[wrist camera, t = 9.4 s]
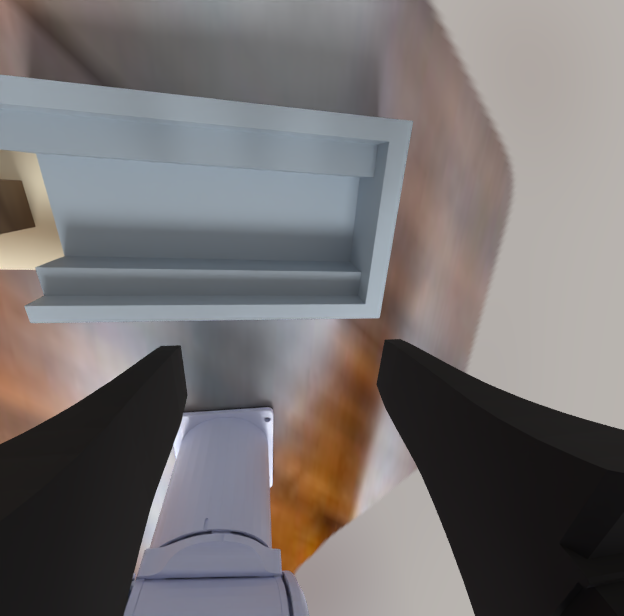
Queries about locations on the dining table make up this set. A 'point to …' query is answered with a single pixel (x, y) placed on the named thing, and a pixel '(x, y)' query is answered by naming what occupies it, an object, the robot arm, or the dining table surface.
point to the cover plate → (27, 239)
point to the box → (206, 204)
